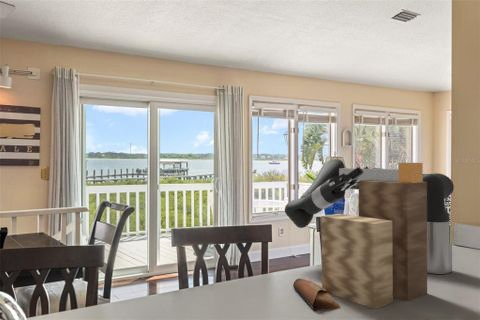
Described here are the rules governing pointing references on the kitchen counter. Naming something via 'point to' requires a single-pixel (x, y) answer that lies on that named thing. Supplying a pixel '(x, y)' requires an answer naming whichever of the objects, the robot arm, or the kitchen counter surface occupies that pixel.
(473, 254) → the kitchen counter surface
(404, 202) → the walnut stand
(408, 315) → the kitchen counter surface
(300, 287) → the sunglasses case
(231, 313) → the kitchen counter surface
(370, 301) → the beige slab
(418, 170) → the steel pin
